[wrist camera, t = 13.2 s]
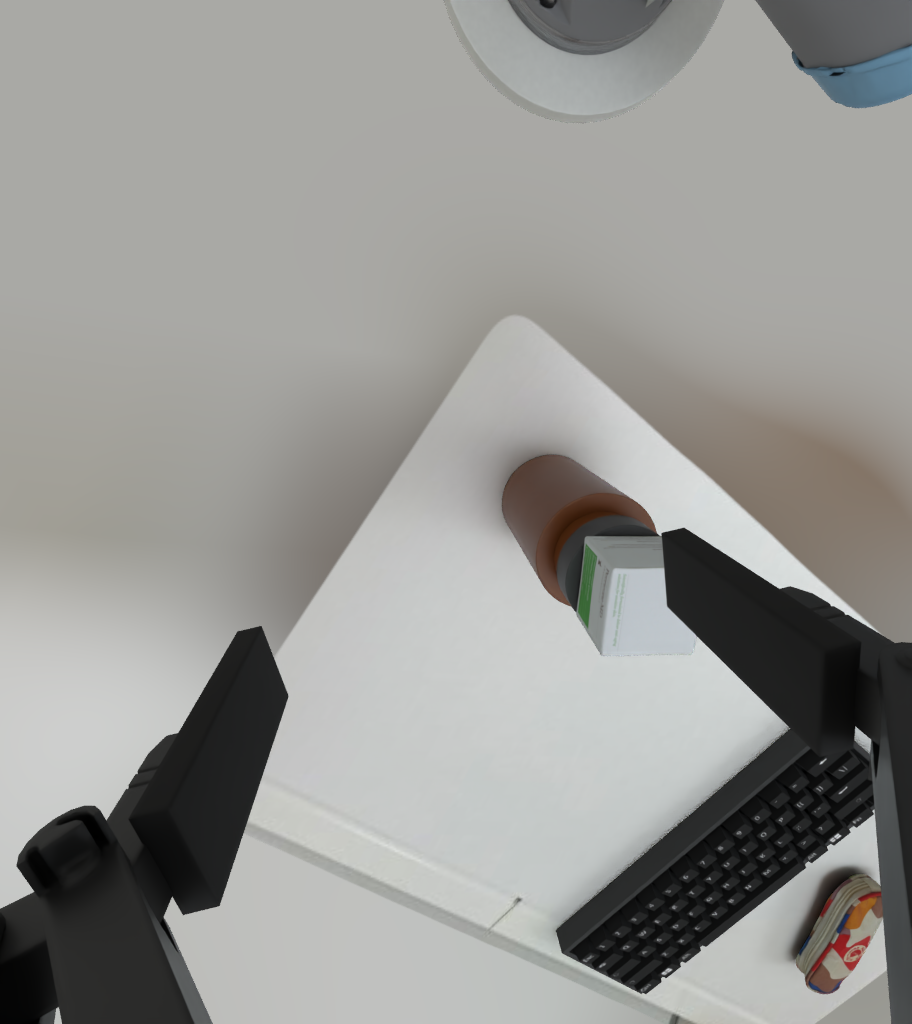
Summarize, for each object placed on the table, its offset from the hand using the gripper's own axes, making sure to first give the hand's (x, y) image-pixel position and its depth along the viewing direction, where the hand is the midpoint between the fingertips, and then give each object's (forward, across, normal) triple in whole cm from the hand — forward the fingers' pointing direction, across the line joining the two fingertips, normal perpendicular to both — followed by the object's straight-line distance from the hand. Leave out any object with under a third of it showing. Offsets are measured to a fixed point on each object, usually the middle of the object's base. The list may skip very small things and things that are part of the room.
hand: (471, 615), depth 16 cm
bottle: (+31, +10, -8) cm, 33 cm away
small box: (+14, +10, -8) cm, 19 cm away
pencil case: (+31, +41, -80) cm, 95 cm away
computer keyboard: (+31, +25, -61) cm, 73 cm away
